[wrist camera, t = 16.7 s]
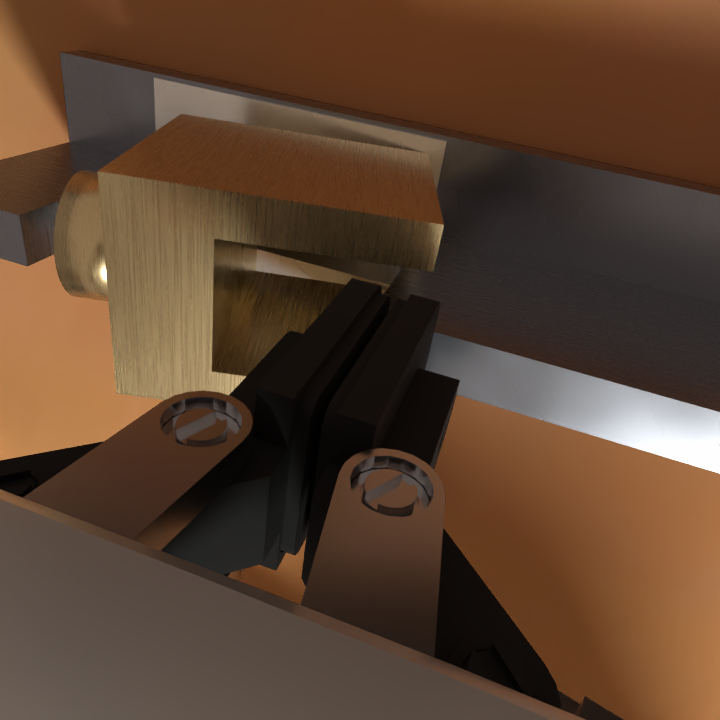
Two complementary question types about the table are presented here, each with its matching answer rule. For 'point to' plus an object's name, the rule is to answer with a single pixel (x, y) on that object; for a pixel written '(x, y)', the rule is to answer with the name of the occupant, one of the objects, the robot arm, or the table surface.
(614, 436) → the rail
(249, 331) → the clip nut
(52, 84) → the table surface
